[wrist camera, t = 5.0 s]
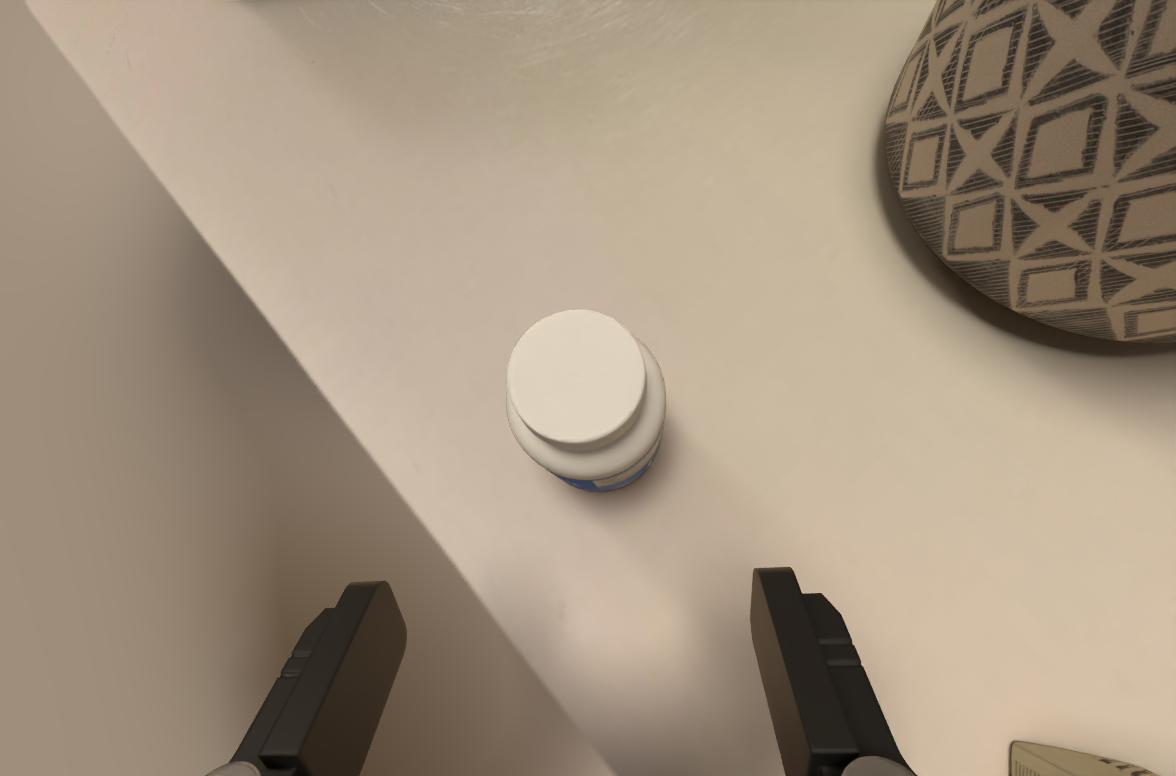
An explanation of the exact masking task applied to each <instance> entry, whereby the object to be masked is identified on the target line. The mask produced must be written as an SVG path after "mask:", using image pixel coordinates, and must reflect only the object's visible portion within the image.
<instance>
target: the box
mask: <svg viewBox="0 0 1176 776" xmlns="http://www.w3.org/2000/svg"><path fill="white" fill-rule="evenodd" d="M1012 776H1159V775H1157V774H1154V773H1152V772H1150V771H1148V770H1146V769H1144V768H1141V767H1139V766H1135V765H1132V764H1127V763H1123V762H1118V761H1114V760H1110V759H1106V758H1102V757H1097V756H1093V755H1088V754H1084V753H1080V752H1075V751H1070V750H1066V749H1060V748H1054V747H1049V746H1043V745H1037V744H1030V743H1024V742H1015V743H1014V744H1013V746H1012Z"/></svg>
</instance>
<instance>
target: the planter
mask: <svg viewBox="0 0 1176 776" xmlns="http://www.w3.org/2000/svg"><path fill="white" fill-rule="evenodd" d="M885 149H886V158H887V164H888V169H889V173H890V177H891V181H892V184H893V187H894V189H895V192H896V195H897V197H898V199H899V202H900V204H901V206H902V208H903V210H904V212H905V214H906V215H907V217H908V219H909V221H910V222H911V224H912V225H913V227H914V228H915V230H916V231H917V233H918V234H919V235H920V237H921V238H922V239H923V240H924V242H925V243H926V244H927V245H928V247H929V248H930V249H931V250H932V251H933V252H934V253H935V254H936V255H937V256H938V257H939V259H940V260H941V261H943V262H944V263H945V264H946V265H947V266H948V267H949V268H950V269H951V270H952V271H953V272H955V273H956V274H957V275H958V276H960V277H961V278H962V279H963V280H964V281H966V282H967V283H968V284H970V285H971V286H973V287H974V288H975V289H977V290H978V291H980V292H981V293H983V294H984V295H986V296H988V297H989V298H991V299H993V300H994V301H996V302H998V303H999V304H1001V305H1003V306H1005V307H1007V308H1009V309H1011V310H1013V311H1015V312H1017V313H1019V314H1021V315H1024V316H1026V317H1028V318H1030V319H1033V320H1035V321H1038V322H1041V323H1044V324H1046V325H1049V326H1052V327H1055V328H1058V329H1062V330H1065V331H1068V332H1072V333H1076V334H1081V335H1085V336H1089V337H1095V338H1101V339H1107V340H1113V341H1122V342H1132V343H1176V0H937V2H936V4H935V6H934V8H933V10H932V12H931V14H930V16H929V18H928V20H927V22H926V24H925V26H924V28H923V30H922V32H921V33H920V35H919V37H918V39H917V41H916V43H915V45H914V47H913V49H912V51H911V53H910V55H909V57H908V59H907V61H906V63H905V65H904V67H903V69H902V71H901V73H900V75H899V78H898V80H897V82H896V84H895V87H894V90H893V93H892V96H891V99H890V103H889V107H888V112H887V118H886V125H885Z"/></svg>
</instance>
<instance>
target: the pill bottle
mask: <svg viewBox="0 0 1176 776" xmlns="http://www.w3.org/2000/svg"><path fill="white" fill-rule="evenodd" d="M506 407H507V416H508V420H509V424H510V427H511V430H512V432H513V434H514V436H515V438H516V440H517V441H518V443H519V444H520V446H521V447H522V449H523V450H524V451H525V452H526V453H527V454H528V455H529V456H530V457H531V458H532V459H533V460H534V461H536V462H537V463H538V464H539V465H541V466H542V467H544V468H545V469H547V470H548V471H550V472H551V473H553V474H554V475H556V476H557V477H559V478H560V479H562V480H563V481H565V482H566V483H568V484H570V485H572V486H574V487H577V488H579V489H583V490H587V491H595V492H603V491H610V490H615V489H618V488H621V487H623V486H625V485H627V484H629V483H631V482H633V481H634V480H636V479H637V478H638V477H639V476H641V475H642V474H643V473H644V472H645V471H646V469H647V468H648V467H649V466H650V464H651V463H652V461H653V459H654V457H655V454H656V452H657V449H658V446H659V442H660V438H661V433H662V428H663V424H664V418H665V409H666V391H665V383H664V378H663V375H662V372H661V369H660V367H659V365H658V363H657V361H656V359H655V357H654V356H653V355H652V353H651V352H650V350H649V349H648V348H647V347H646V346H645V345H644V344H643V343H642V342H641V341H640V340H639V339H638V338H636V337H635V336H634V335H633V334H631V333H630V332H629V331H628V330H627V329H626V328H625V327H624V326H623V325H622V324H620V323H619V322H618V321H616V320H615V319H613V318H611V317H609V316H607V315H605V314H602V313H599V312H596V311H592V310H584V309H583V310H581V309H573V310H566V311H561V312H557V313H554V314H552V315H549V316H547V317H545V318H543V319H542V320H540V321H538V322H537V323H535V324H534V325H533V326H531V327H530V328H529V329H528V330H527V331H526V332H525V333H524V335H523V336H522V337H521V338H520V340H519V341H518V342H517V344H516V346H515V348H514V350H513V352H512V355H511V358H510V360H509V364H508V370H507V392H506Z"/></svg>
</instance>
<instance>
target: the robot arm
mask: <svg viewBox="0 0 1176 776" xmlns="http://www.w3.org/2000/svg"><path fill="white" fill-rule="evenodd" d="M750 623H751V633H752V639H753V645H754V649H755V653H756V657H757V661H758V665H759V669H760V673H761V678H762V682H763V686H764V690H765V694H766V698H767V702H768V706H769V710H770V714H771V718H772V722H773V726H774V730H775V735H776V739H777V743H778V747H779V751H780V755H781V759H782V763H783V767H784V771H785V775H786V776H917V775H916V774H915V773H914V772H913V771H912V769H911V768H910V767H909V766H908V764H907V763H906V762H905V760H904V758H903V757H902V755H901V754H900V752H899V750H898V748H897V745H896V743H895V741H894V738H893V736H892V734H891V731H890V729H889V726H888V724H887V722H886V719H885V717H884V715H883V712H882V710H881V708H880V705H879V703H878V700H877V698H876V696H875V693H874V691H873V689H872V686H871V684H870V682H869V679H868V677H867V674H866V672H865V670H864V667H862V665H861V660H860V658H859V656H858V653H857V651H856V648H855V646H854V645H853V644H852V639H851V637H850V634H849V632H848V630H847V627H846V625H845V622H844V620H843V618H842V615H841V614H840V613H839V612H838V611H837V610H836V608H835V607H834V606H833V605H832V604H831V603H830V602H829V601H828V600H827V599H826V598H825V597H824V595H823V594H822V593H812V594H802V593H801V590H800V587H799V584H798V582H797V579H796V576H795V574H794V571H793V570H792V568H791V567H775V568H755V569H754V571H753V581H752V596H751V611H750ZM406 640H407V632H406V625H405V622H404V620H403V617H402V614H401V612H400V609H399V607H398V604H397V602H396V600H395V597H394V595H393V592H392V590H391V587H390V585H389V584H388V582H386V581H373V582H372V581H369V582H353V583H350V584H349V585H348V586H347V587H346V588H345V590H344V592H343V594H342V596H341V598H340V600H339V602H338V603H337V605H336V607H335V608H326V609H324V611H322V613H321V614H320V615H319V616H318V617H317V618H316V619H315V620H314V621H313V622H312V623H311V624H310V625H309V626H308V627H307V628H306V629H305V630H304V632H303V634H302V636H301V637H300V639H299V641H298V643H297V644H296V646H295V648H294V650H293V652H292V656H291V658H289V659H288V660H287V662H286V664H285V666H284V668H283V669H282V671H281V676H280V678H277V680H276V682H275V683H274V686H273V687H272V689H271V691H270V692H269V694H268V696H267V698H266V699H265V701H264V703H263V705H262V707H261V708H260V710H259V712H258V714H257V715H256V718H255V719H254V721H253V723H252V724H251V726H250V728H249V730H248V731H247V733H246V735H245V737H244V739H243V740H242V742H241V744H240V746H239V748H238V749H237V751H236V753H235V754H234V756H233V757H232V759H231V760H230V761H229V763H228V764H225V765H223V766H221V767H219V768H217V769H215V770H213V771H212V772H210V773H209V774H207V775H206V776H359V775H360V772H361V770H362V767H363V764H364V762H365V758H366V756H367V753H368V751H369V748H370V745H371V742H372V740H373V737H374V734H375V732H376V729H377V726H378V723H379V721H380V718H381V715H382V712H383V709H384V707H385V704H386V701H387V699H388V696H389V693H390V690H391V688H392V685H393V682H394V680H395V677H396V674H397V672H398V669H399V666H400V663H401V661H402V658H403V655H404V651H405V648H406Z"/></svg>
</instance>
